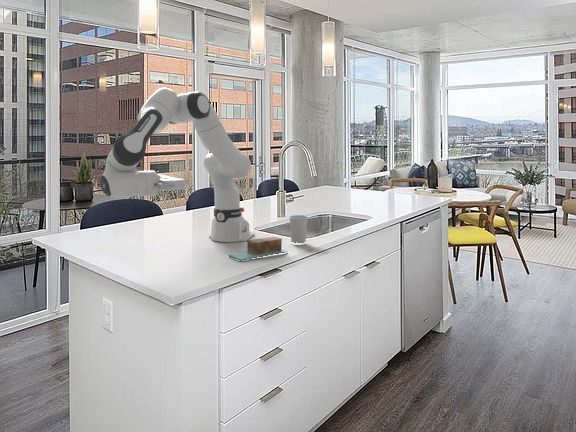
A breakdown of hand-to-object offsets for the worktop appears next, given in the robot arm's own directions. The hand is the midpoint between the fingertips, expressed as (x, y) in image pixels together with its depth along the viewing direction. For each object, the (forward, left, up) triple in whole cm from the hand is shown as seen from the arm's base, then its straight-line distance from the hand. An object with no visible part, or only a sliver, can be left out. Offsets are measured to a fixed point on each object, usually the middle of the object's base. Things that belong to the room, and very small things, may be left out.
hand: (186, 181), depth 186 cm
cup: (-45, +27, -30) cm, 61 cm away
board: (-19, +20, -30) cm, 41 cm away
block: (-16, +18, -26) cm, 36 cm away
